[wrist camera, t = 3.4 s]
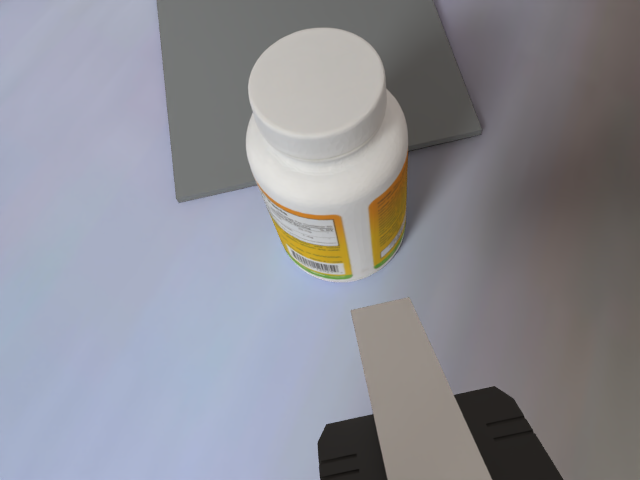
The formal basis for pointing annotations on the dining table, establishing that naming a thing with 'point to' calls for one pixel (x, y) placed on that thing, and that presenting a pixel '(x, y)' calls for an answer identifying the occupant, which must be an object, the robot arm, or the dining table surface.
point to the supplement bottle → (329, 152)
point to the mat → (259, 34)
